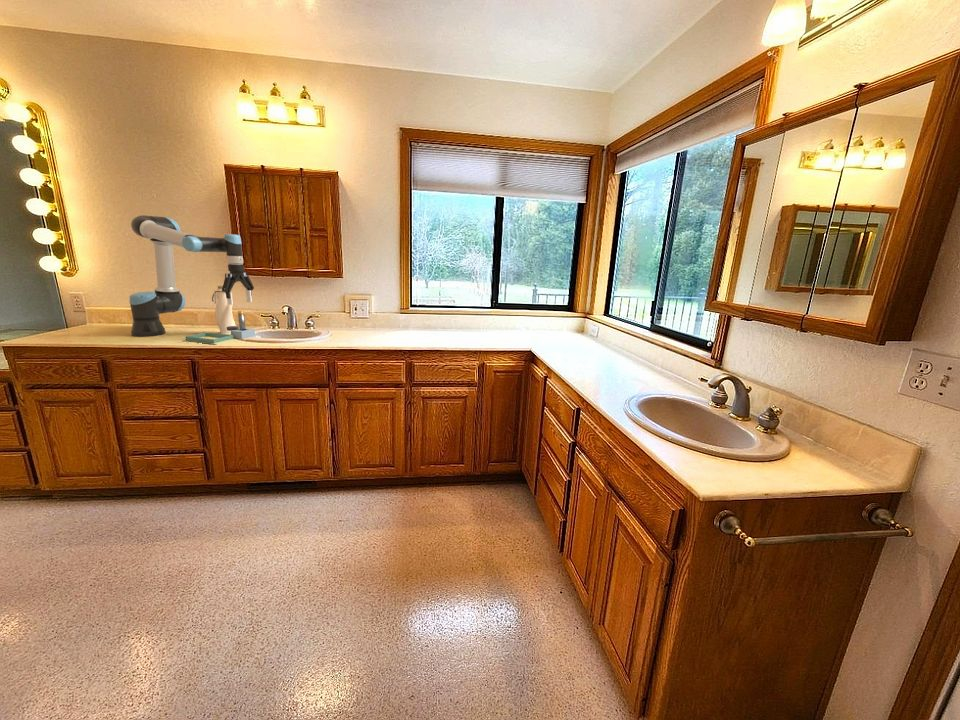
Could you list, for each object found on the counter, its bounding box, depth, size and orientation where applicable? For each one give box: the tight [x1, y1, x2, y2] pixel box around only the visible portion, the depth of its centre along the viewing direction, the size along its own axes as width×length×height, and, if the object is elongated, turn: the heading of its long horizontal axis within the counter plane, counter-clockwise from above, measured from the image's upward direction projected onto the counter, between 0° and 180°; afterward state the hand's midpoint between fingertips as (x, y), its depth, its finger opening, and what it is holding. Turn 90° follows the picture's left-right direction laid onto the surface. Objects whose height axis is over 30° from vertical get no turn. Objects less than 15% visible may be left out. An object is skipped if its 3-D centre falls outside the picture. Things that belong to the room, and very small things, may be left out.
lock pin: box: [237, 310, 247, 331], centre depth 229 cm, size 3×3×14 cm
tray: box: [184, 331, 235, 346], centre depth 221 cm, size 18×13×3 cm
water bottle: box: [211, 285, 237, 335], centre depth 236 cm, size 10×9×28 cm
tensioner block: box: [227, 325, 256, 340], centre depth 231 cm, size 14×10×6 cm
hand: (240, 303), depth 226 cm, fingers open, 13 cm apart
